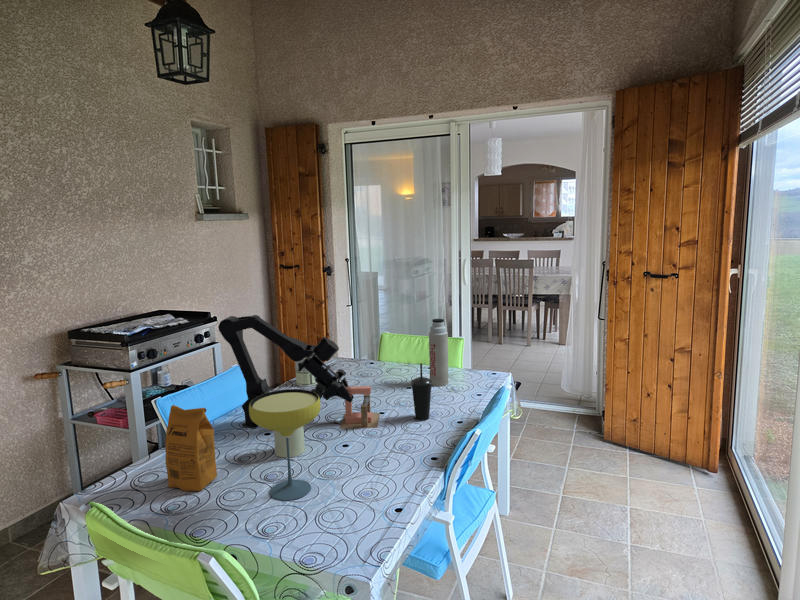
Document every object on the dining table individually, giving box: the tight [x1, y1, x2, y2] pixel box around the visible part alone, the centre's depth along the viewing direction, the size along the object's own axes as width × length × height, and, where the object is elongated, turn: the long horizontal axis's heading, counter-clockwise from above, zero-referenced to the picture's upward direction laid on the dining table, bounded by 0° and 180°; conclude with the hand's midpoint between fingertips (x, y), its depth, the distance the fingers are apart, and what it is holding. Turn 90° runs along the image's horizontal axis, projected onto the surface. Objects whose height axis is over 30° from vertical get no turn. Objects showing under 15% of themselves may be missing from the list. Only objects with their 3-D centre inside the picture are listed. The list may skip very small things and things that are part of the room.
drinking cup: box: [410, 363, 433, 421], centre depth 188 cm, size 8×8×20 cm
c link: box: [344, 385, 373, 423], centre depth 186 cm, size 9×5×12 cm, turn 88°
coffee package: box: [165, 404, 218, 492], centre depth 145 cm, size 10×12×22 cm
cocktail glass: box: [249, 388, 321, 502], centre depth 139 cm, size 18×18×25 cm
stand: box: [338, 394, 381, 430], centre depth 186 cm, size 13×14×8 cm
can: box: [273, 426, 306, 459], centre depth 164 cm, size 9×9×12 cm
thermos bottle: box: [428, 318, 449, 387], centre depth 226 cm, size 8×8×28 cm
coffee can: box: [294, 352, 317, 387], centre depth 233 cm, size 10×10×14 cm
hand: (352, 400), depth 186 cm, fingers closed on c link, 2 cm apart
